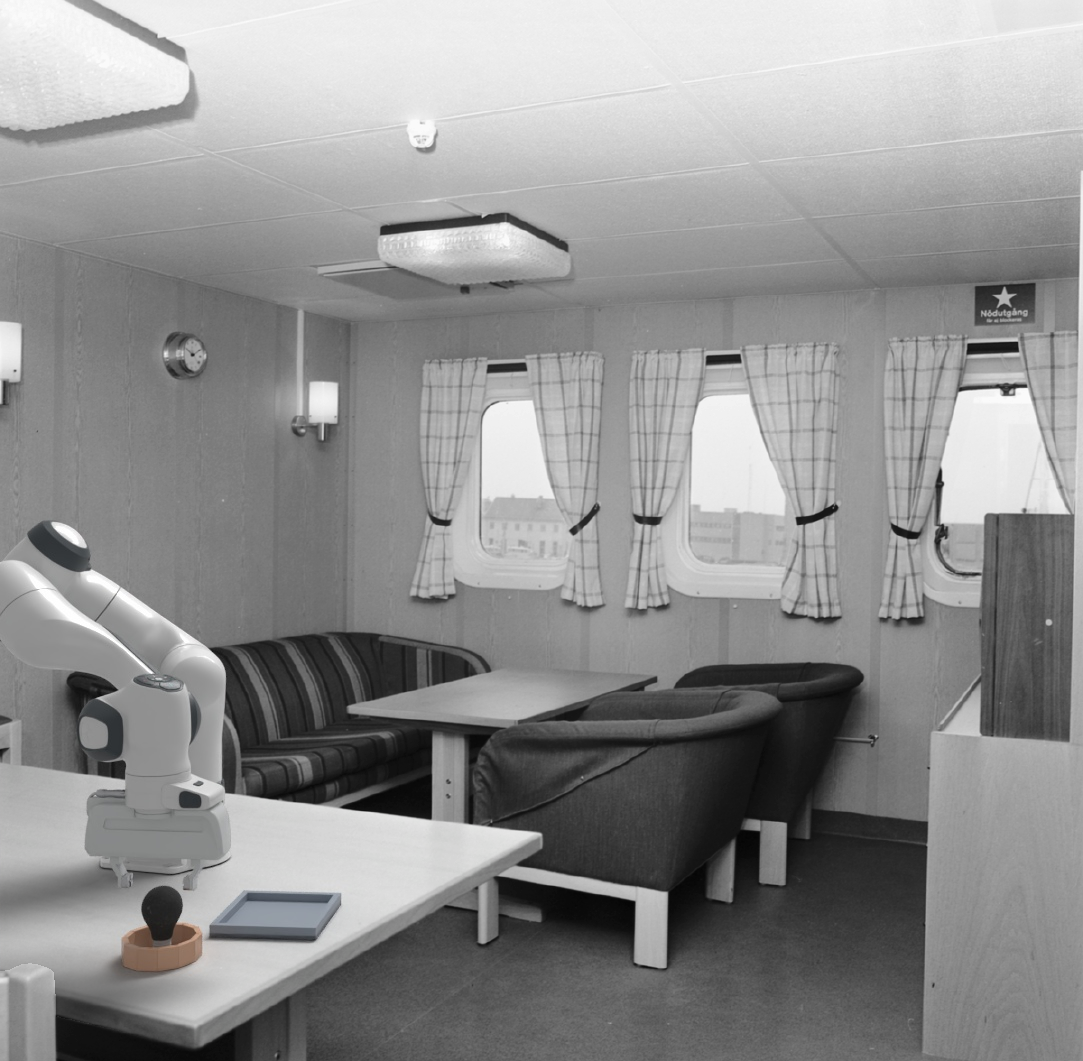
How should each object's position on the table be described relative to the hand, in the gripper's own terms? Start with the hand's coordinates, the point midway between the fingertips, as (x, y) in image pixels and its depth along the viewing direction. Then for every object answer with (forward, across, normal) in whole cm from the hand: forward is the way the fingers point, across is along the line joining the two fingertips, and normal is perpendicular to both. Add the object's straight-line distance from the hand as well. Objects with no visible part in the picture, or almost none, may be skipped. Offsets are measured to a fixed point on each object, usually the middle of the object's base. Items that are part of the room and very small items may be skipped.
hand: (157, 888), depth 165 cm
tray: (+10, +12, +16) cm, 23 cm away
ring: (+10, +1, 0) cm, 10 cm away
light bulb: (+10, +1, 0) cm, 10 cm away
